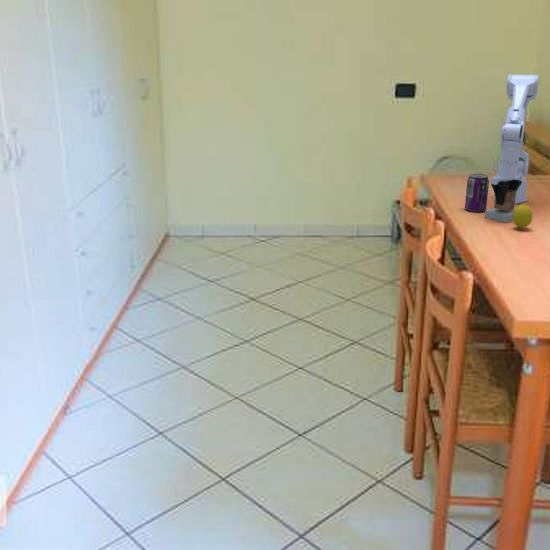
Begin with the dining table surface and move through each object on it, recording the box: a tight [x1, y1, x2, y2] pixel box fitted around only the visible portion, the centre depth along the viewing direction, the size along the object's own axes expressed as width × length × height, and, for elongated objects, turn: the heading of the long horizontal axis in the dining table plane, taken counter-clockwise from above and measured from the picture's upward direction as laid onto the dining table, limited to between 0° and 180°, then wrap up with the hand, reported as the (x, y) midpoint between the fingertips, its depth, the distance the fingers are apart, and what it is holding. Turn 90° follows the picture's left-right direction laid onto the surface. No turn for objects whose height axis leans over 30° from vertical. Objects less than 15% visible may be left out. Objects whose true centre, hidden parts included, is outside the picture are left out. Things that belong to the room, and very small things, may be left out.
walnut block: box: [493, 189, 516, 211], centre depth 220 cm, size 4×4×6 cm
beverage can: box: [464, 173, 490, 213], centre depth 230 cm, size 7×7×12 cm
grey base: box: [484, 207, 515, 224], centre depth 221 cm, size 8×8×2 cm
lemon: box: [512, 203, 533, 230], centre depth 209 cm, size 6×6×8 cm
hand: (504, 203), depth 220 cm, fingers closed on walnut block, 4 cm apart
